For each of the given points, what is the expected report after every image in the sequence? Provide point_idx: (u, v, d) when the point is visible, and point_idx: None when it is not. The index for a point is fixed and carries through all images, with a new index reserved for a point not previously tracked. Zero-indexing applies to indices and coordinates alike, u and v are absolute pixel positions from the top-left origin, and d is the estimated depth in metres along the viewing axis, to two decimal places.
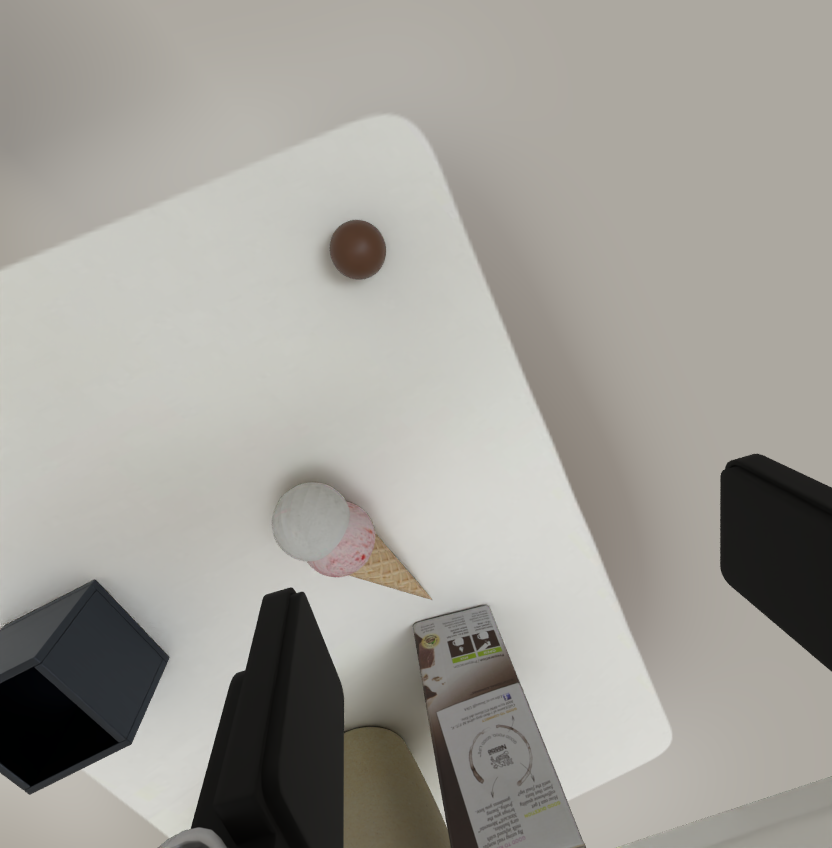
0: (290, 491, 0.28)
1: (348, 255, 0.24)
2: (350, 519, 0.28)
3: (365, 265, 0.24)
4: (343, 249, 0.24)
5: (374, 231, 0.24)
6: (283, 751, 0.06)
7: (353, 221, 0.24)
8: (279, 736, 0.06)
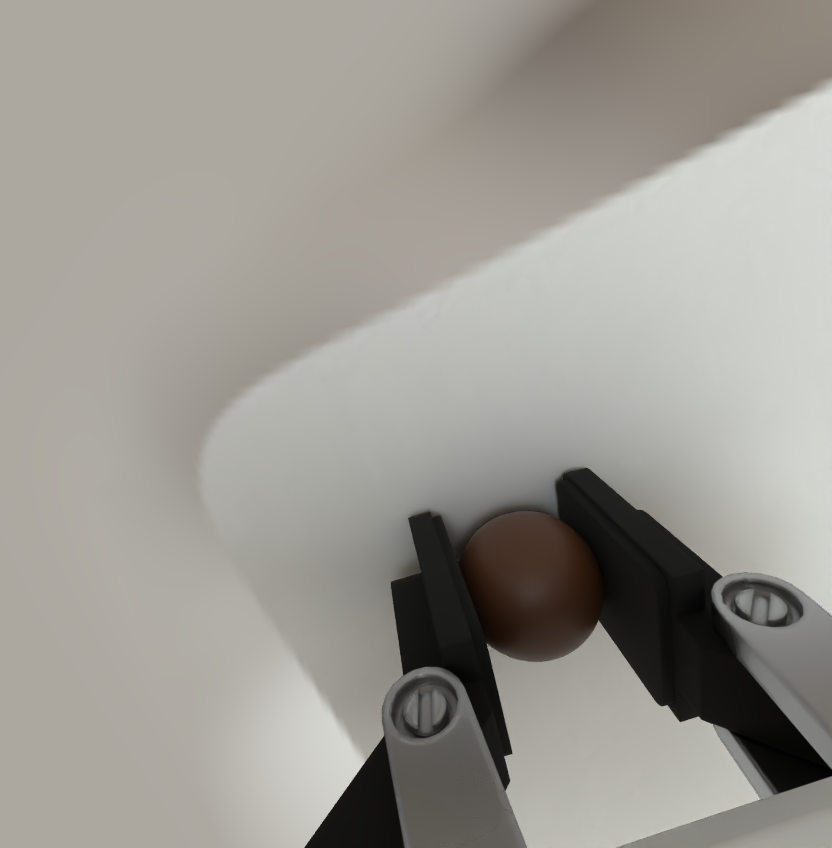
0: None
1: (565, 651, 0.09)
2: None
3: (592, 607, 0.09)
4: (547, 658, 0.09)
5: (502, 578, 0.09)
6: None
7: None
8: (473, 606, 0.08)
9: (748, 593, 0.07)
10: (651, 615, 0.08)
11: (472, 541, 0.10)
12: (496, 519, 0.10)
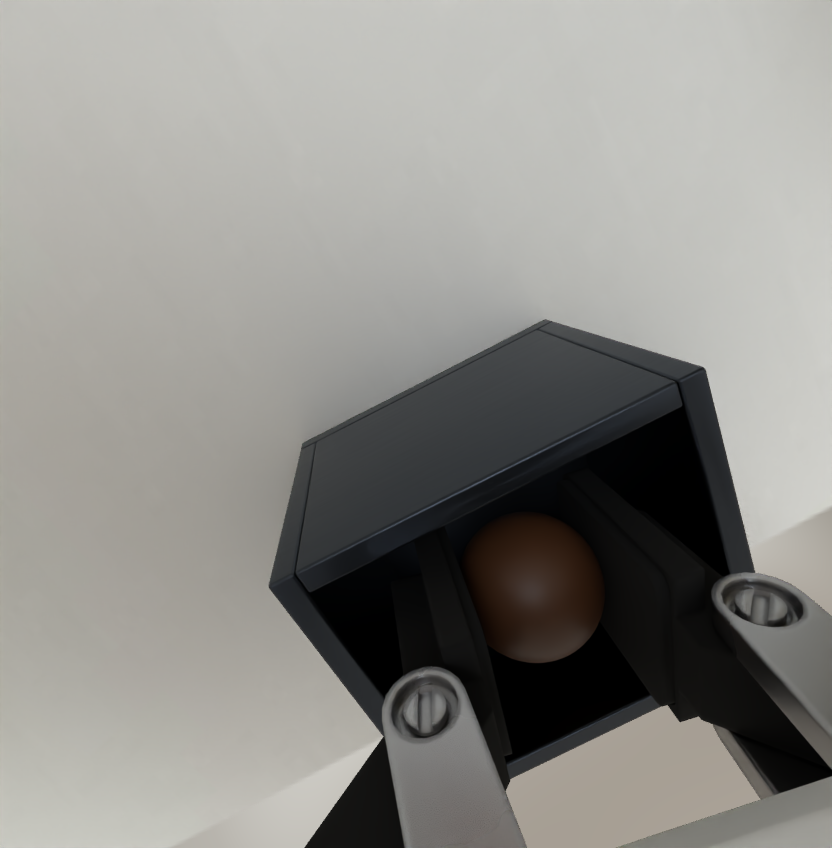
0: None
1: (566, 652, 0.09)
2: None
3: (593, 608, 0.09)
4: (548, 659, 0.09)
5: (501, 579, 0.09)
6: None
7: None
8: (472, 606, 0.08)
9: (748, 593, 0.07)
10: (651, 615, 0.08)
11: (472, 542, 0.10)
12: (497, 520, 0.10)
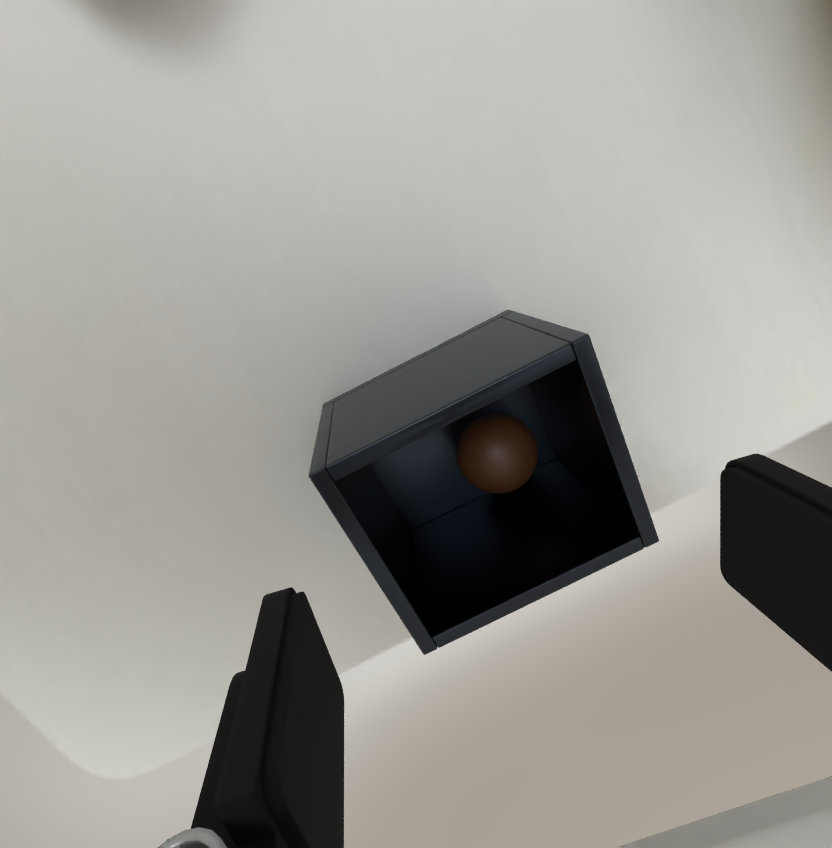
0: None
1: None
2: None
3: None
4: (526, 481, 0.17)
5: (512, 447, 0.16)
6: (283, 751, 0.06)
7: (493, 476, 0.16)
8: (279, 736, 0.06)
9: None
10: None
11: (476, 440, 0.16)
12: (479, 424, 0.17)
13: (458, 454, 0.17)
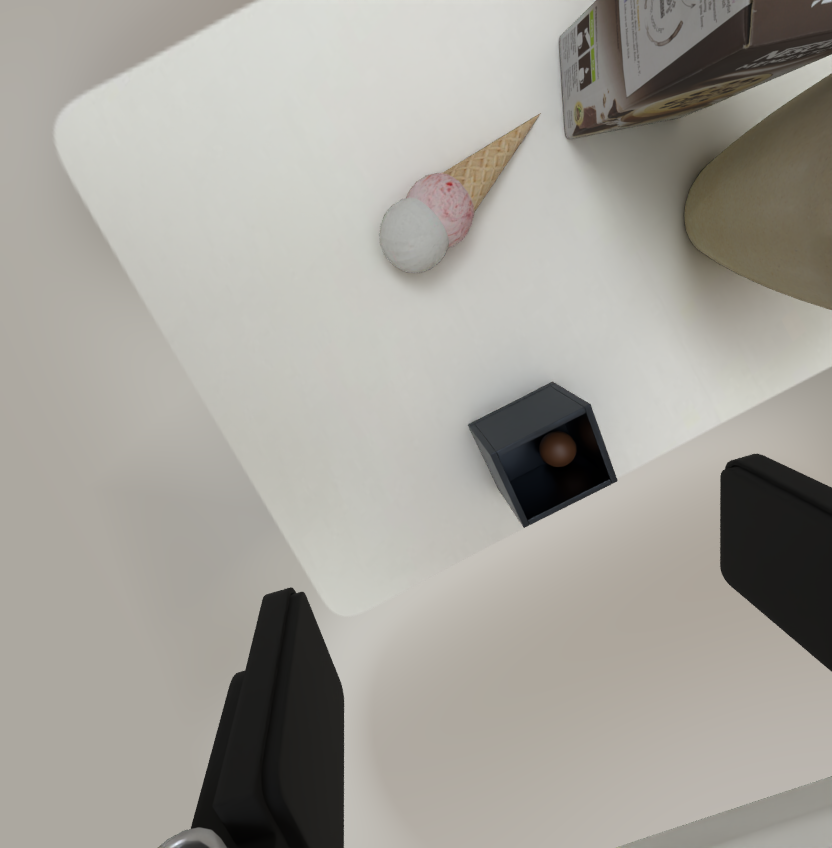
0: (384, 253, 0.32)
1: None
2: (412, 196, 0.30)
3: None
4: None
5: (573, 447, 0.38)
6: (283, 751, 0.06)
7: (567, 461, 0.38)
8: (279, 736, 0.06)
9: None
10: None
11: (560, 447, 0.38)
12: (557, 440, 0.38)
13: (548, 454, 0.38)
